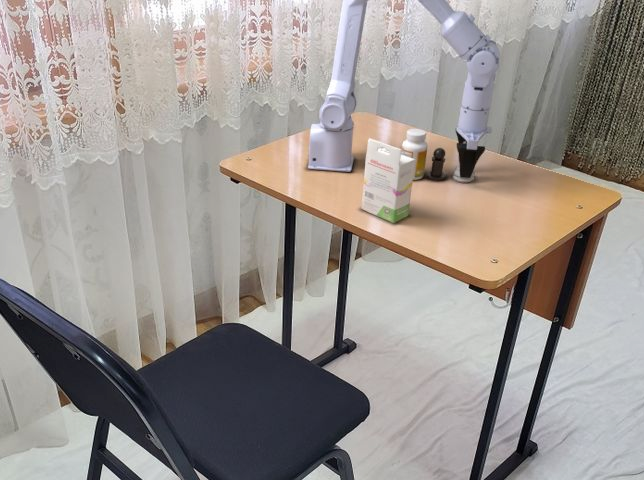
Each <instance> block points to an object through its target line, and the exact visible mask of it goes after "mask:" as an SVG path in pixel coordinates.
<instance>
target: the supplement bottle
mask: <svg viewBox="0 0 644 480" xmlns="http://www.w3.org/2000/svg"><path fill="white" fill-rule="evenodd" d="M405 137H406V139H405V140H403V142H402V143H401V155H404V156H407V157H410V158H413V159H415V165H414V173H413V181H416V180H420V179H422V178H424V176H425V169H426V163H427V155H428V147H429V145H428V142H427V141H426V139H427V131H426V130H424V129H421V128H410V129H407V131H406V135H405Z"/></svg>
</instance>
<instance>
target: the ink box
mask: <svg viewBox="0 0 644 480" xmlns="http://www.w3.org/2000/svg"><path fill="white" fill-rule="evenodd" d="M366 146H367V148H366V154H365V162H364V163H365V165H364V174H363V175H364V176H363V177H364V178H363V184H362V185H363V186H362V200H361V210H363V211H365V212H367V213H369V214H371V215H373V216H376V217H378V218H381V219H383V220H385V221H388V222H390V223H392V224H395V223H397V222H398V221H400V220H403V219H405V218H406V217H408V216H409V213H410V205H411V197H412V189H413V181H414V180H413V173H414V165H415V159H413V158H410V157H407V156H404V155H401V150H402V148H398V147H395V146H392V145H391V144H388V143H385V142H381V141H379V140H376V139H373V138H370V137H369V138H368V140H367V145H366Z"/></svg>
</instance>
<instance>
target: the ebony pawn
mask: <svg viewBox="0 0 644 480" xmlns="http://www.w3.org/2000/svg"><path fill="white" fill-rule="evenodd" d="M432 155H433V156H432V157H431V162H432V163H431V167H430V168H431V169H430V170H429V171H428V172H426V179H428V180H429V181H433V182H442V181H444V180H445V179H446V173H445V172H444V165H445V164H444V163H445V162H446V150H445V149H444V148H442V147H436V149H434V151H433V154H432Z"/></svg>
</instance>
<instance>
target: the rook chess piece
mask: <svg viewBox="0 0 644 480" xmlns="http://www.w3.org/2000/svg"><path fill="white" fill-rule="evenodd" d="M464 143H465V144H467V143H466V141H465V142H464ZM474 176H475V170H473V173H472V175H471V177H470V178H463V177H460V162H459V161H458V165H457V166H456V168H455V169H454V171H453V175H452V178H453V180H454V181H455V182H458V183H462V184H469V183H471V182H472V181H474V179H475V177H474Z"/></svg>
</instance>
